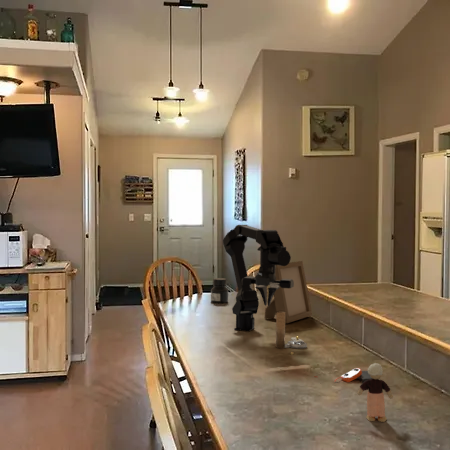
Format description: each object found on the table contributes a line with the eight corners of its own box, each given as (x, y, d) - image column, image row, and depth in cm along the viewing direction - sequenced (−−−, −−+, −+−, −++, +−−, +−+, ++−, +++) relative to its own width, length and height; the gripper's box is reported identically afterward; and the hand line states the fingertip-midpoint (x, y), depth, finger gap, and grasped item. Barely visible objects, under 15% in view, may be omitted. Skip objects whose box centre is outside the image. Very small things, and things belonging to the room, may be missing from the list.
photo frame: (312, 317, 235) (313, 261, 234) (287, 325, 218) (288, 265, 217) (283, 313, 244) (284, 259, 243) (257, 320, 227) (258, 262, 226)
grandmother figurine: (387, 415, 121) (389, 361, 121) (393, 422, 117) (395, 366, 117) (354, 415, 121) (356, 361, 121) (359, 422, 117) (360, 366, 117)
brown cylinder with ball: (272, 345, 180) (273, 310, 180) (300, 343, 184) (300, 309, 183) (280, 350, 174) (281, 314, 174) (309, 348, 178) (309, 312, 177)
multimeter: (317, 389, 140) (317, 377, 140) (309, 375, 152) (309, 364, 152) (384, 390, 140) (384, 377, 140) (370, 376, 152) (371, 364, 152)
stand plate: (263, 342, 188) (263, 336, 188) (300, 339, 193) (300, 333, 193) (288, 357, 169) (288, 350, 169) (329, 353, 174) (329, 346, 174)
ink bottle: (207, 301, 274) (208, 278, 274) (223, 300, 278) (223, 277, 278) (215, 304, 265) (215, 280, 265) (231, 303, 269) (231, 279, 269)
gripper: (236, 264, 190) (236, 307, 191) (287, 266, 184) (286, 311, 184) (246, 261, 201) (245, 302, 201) (294, 264, 194) (293, 306, 195)
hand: (267, 305), depth 195 cm, fingers closed
